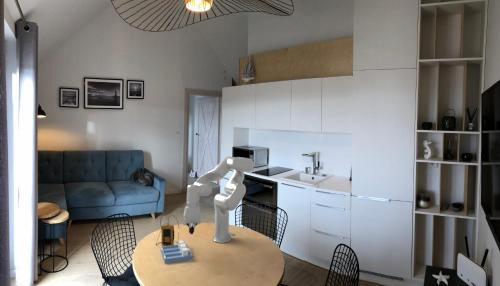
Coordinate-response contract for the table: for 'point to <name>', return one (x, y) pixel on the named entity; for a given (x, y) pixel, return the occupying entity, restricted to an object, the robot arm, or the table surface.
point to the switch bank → (174, 254)
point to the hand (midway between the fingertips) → (191, 233)
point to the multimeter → (168, 233)
